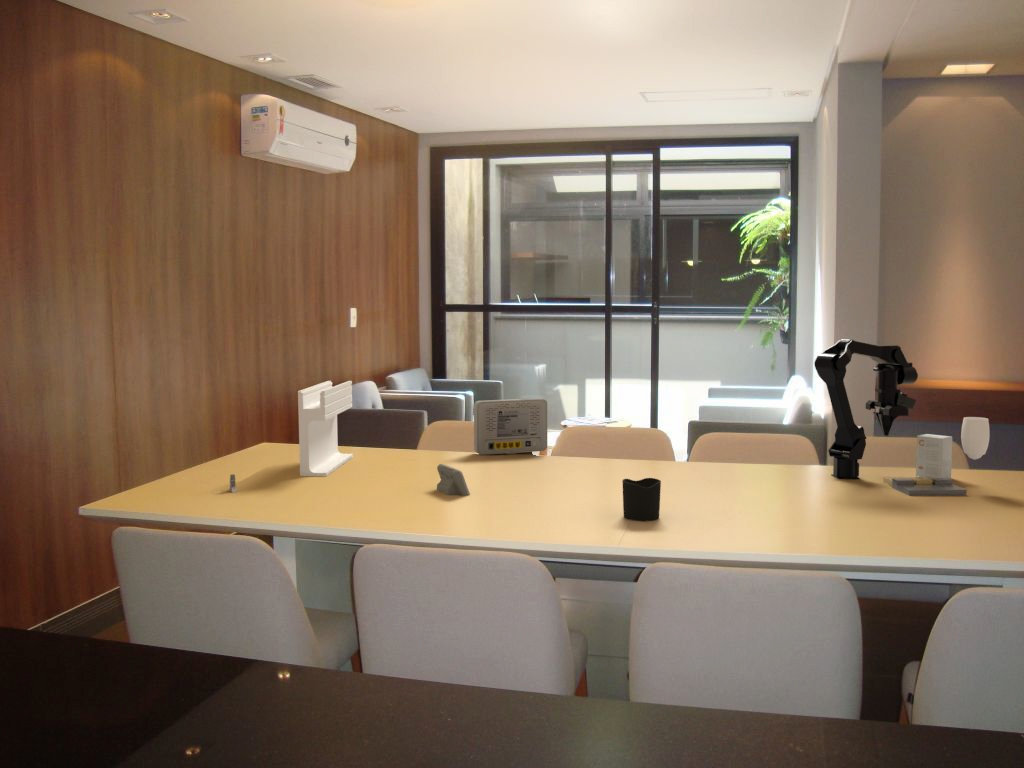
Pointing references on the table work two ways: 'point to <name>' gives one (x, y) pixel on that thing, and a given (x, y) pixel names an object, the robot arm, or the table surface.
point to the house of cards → (232, 484)
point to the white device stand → (321, 427)
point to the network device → (510, 426)
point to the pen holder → (641, 499)
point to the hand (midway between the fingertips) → (885, 435)
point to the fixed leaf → (928, 487)
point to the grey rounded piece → (975, 436)
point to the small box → (934, 456)
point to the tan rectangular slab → (916, 479)
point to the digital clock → (451, 481)
